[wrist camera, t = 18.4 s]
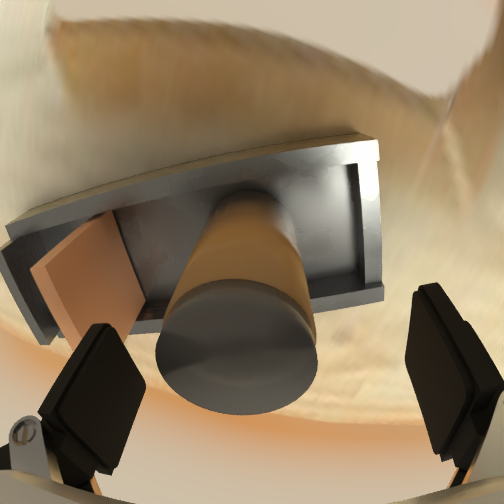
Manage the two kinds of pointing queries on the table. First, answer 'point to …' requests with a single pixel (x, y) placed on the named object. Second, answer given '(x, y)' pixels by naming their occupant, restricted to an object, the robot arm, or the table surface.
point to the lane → (197, 212)
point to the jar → (241, 313)
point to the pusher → (90, 280)
